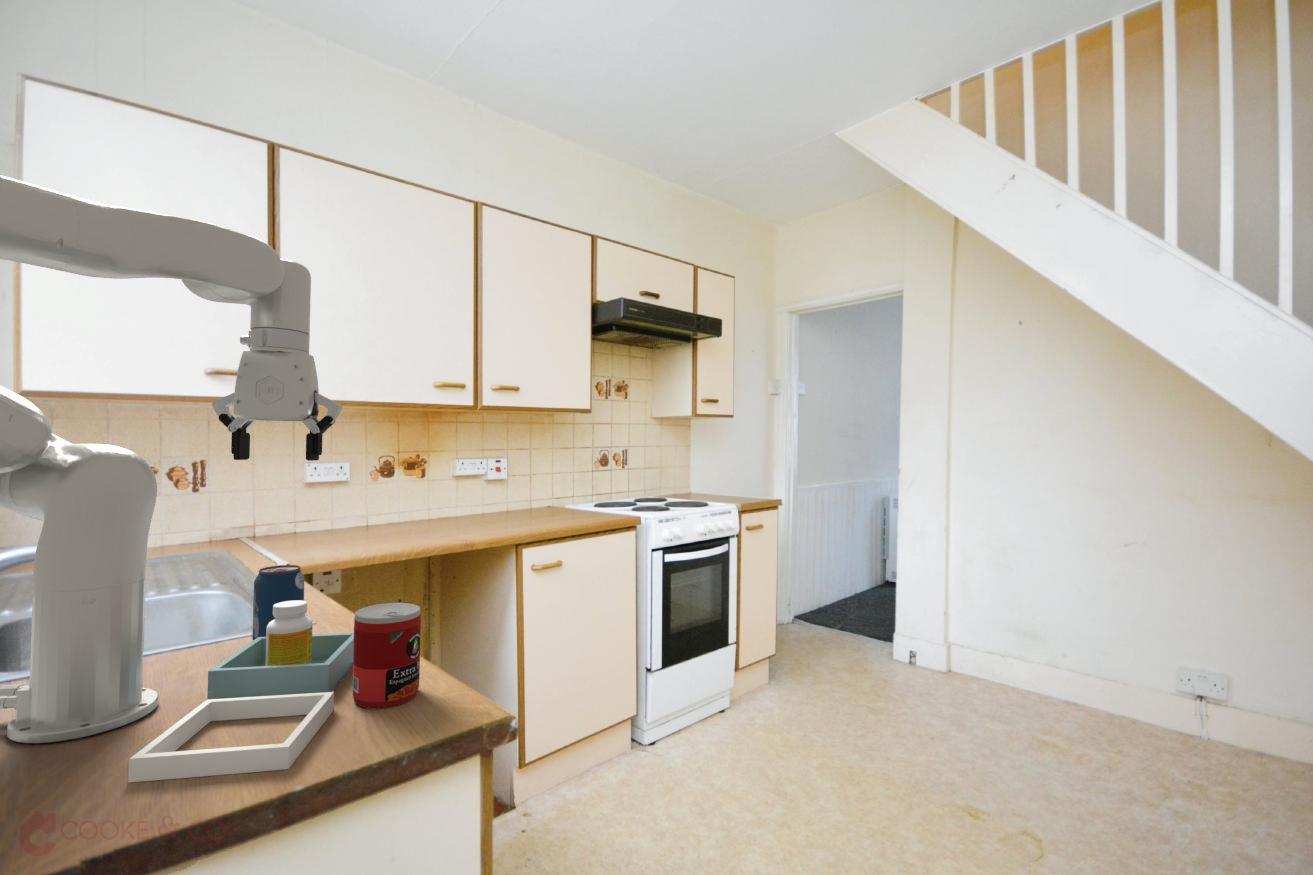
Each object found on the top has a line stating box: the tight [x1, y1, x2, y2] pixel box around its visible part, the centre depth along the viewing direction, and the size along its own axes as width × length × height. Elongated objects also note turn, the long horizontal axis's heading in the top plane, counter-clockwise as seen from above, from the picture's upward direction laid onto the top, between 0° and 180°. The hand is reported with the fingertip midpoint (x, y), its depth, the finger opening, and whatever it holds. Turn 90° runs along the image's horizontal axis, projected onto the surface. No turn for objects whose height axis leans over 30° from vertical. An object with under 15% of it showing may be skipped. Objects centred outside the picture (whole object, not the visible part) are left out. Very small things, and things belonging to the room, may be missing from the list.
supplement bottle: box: [265, 600, 314, 666], centre depth 81 cm, size 5×5×10 cm
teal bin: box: [206, 632, 354, 700], centre depth 82 cm, size 14×14×4 cm
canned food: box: [352, 602, 422, 710], centre depth 77 cm, size 8×8×11 cm
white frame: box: [127, 691, 335, 783], centre depth 64 cm, size 14×14×2 cm
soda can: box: [251, 564, 305, 641], centre depth 97 cm, size 7×7×12 cm
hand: (277, 460), depth 89 cm, fingers open, 9 cm apart
